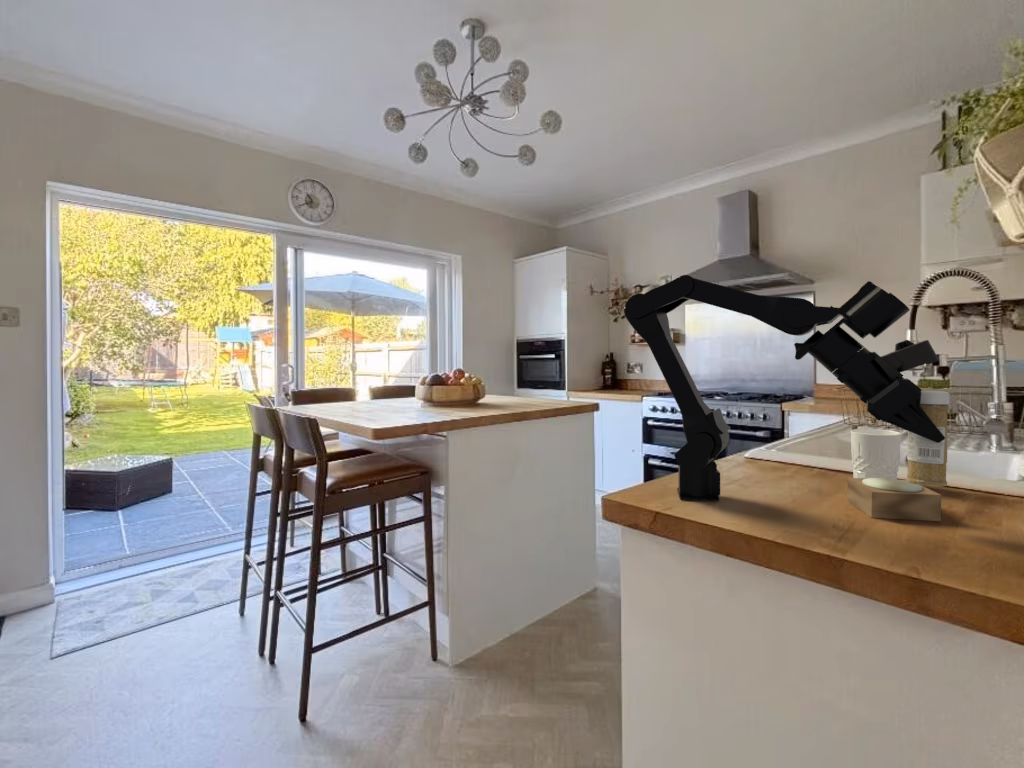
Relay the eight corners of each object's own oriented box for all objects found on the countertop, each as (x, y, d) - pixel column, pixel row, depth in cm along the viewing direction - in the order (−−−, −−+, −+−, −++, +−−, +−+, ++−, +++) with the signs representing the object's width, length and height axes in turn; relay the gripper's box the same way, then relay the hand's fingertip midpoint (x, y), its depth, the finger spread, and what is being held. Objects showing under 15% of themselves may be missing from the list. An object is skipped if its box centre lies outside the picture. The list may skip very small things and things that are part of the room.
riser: (871, 517, 75) (871, 490, 75) (847, 500, 84) (847, 475, 84) (940, 521, 73) (941, 492, 73) (908, 503, 82) (909, 478, 82)
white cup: (850, 476, 100) (851, 427, 100) (899, 481, 96) (900, 430, 95) (849, 484, 94) (850, 433, 93) (901, 490, 89) (902, 436, 89)
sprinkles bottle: (950, 485, 70) (952, 391, 70) (942, 489, 67) (945, 391, 67) (909, 479, 73) (912, 390, 73) (901, 483, 71) (903, 390, 70)
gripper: (902, 318, 64) (1017, 407, 58) (891, 323, 79) (981, 394, 74) (828, 377, 69) (927, 464, 63) (831, 371, 84) (911, 441, 79)
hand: (939, 438), depth 69 cm, fingers closed on sprinkles bottle, 4 cm apart
